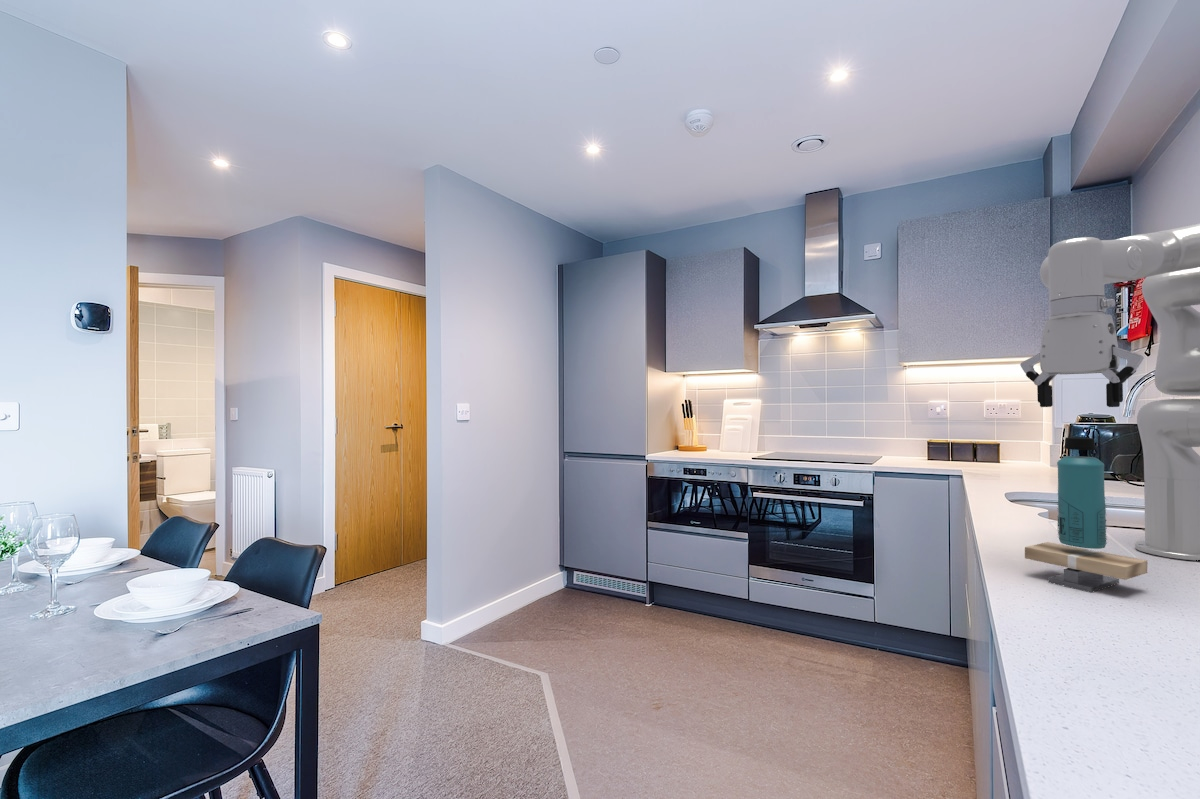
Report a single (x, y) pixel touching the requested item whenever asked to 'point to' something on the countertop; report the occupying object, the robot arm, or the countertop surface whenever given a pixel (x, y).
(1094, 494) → the beverage bottle
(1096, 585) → the fulcrum
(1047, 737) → the countertop surface
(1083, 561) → the beam
